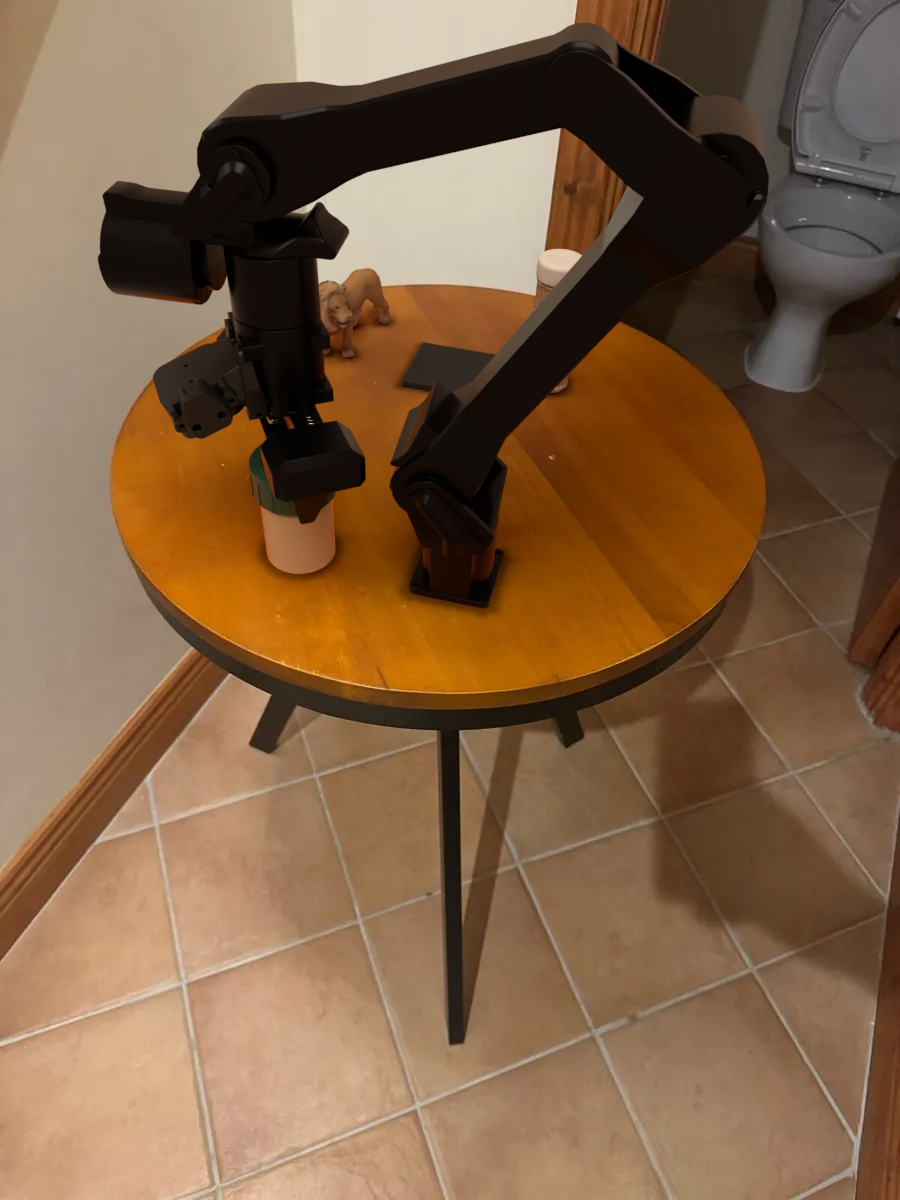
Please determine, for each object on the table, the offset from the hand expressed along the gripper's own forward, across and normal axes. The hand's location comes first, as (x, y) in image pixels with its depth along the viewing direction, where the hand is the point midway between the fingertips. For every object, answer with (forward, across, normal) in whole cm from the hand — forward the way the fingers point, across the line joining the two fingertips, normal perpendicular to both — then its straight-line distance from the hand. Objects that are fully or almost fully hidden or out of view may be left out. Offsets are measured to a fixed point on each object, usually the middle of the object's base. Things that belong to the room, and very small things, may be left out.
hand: (295, 495), depth 70 cm
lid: (-3, 0, 0) cm, 3 cm away
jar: (+6, 0, 0) cm, 6 cm away
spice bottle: (+6, -16, +30) cm, 35 cm away
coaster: (+6, -21, +22) cm, 31 cm away
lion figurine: (+6, -30, +14) cm, 34 cm away
